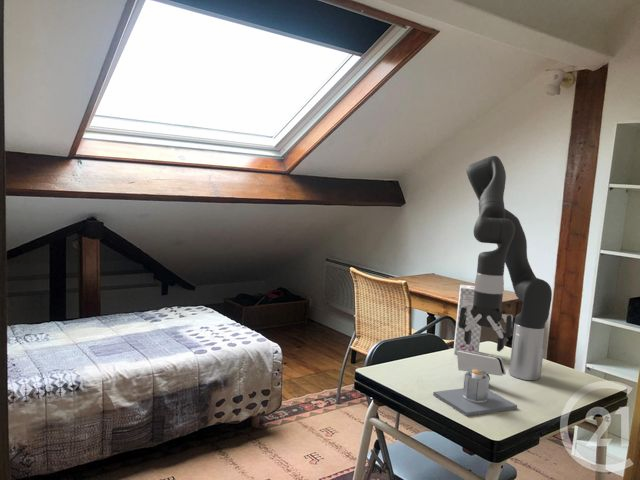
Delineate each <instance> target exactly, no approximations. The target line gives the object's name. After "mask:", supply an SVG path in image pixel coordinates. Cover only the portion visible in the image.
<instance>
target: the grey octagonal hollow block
mask: <svg viewBox="0 0 640 480" xmlns="http://www.w3.org/2000/svg"><path fill="white" fill-rule="evenodd" d="M488 375H489V374H488ZM488 375H487V373H486V372H484V371H483V375H482V379H477V378H473V377H472V372H468V371H466V372H465V373H464V378H463V379H464V380H463V395H464V396H465V397H466V398H468V399H471V400H475V401H485V400H486V399H487V396H488V390H489V385H490V380H489V377H488Z"/></svg>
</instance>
